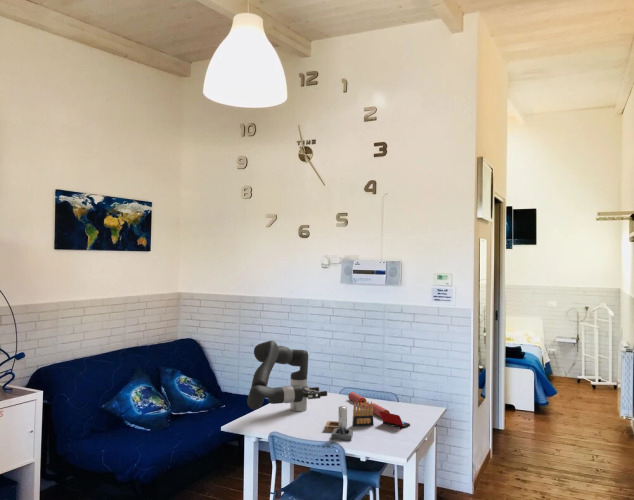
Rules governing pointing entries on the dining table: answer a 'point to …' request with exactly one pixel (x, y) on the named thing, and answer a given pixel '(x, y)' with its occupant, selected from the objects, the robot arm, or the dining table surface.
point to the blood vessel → (358, 398)
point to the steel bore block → (342, 435)
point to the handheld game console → (393, 420)
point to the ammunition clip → (363, 415)
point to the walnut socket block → (331, 426)
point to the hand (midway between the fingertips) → (322, 391)
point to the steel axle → (342, 420)
